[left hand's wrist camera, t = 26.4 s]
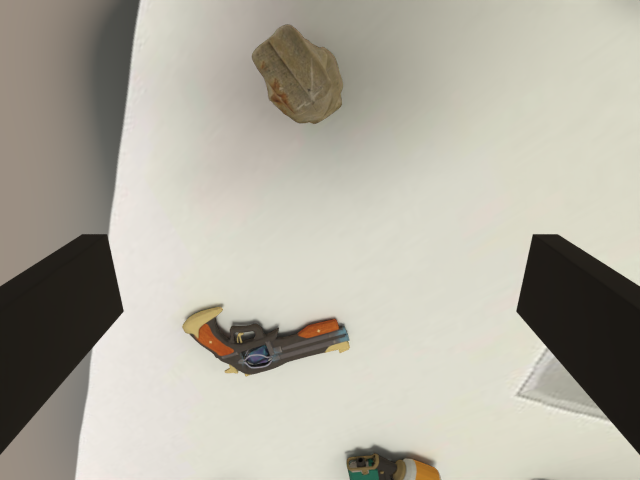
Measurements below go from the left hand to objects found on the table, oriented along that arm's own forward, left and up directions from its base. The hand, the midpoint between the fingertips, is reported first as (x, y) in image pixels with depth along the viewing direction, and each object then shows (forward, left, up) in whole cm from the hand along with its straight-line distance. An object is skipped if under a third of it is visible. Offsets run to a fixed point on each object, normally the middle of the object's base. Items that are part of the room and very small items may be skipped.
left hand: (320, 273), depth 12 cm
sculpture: (-5, -3, -31) cm, 31 cm away
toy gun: (+24, +1, -31) cm, 39 cm away
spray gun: (+46, +25, -31) cm, 61 cm away
